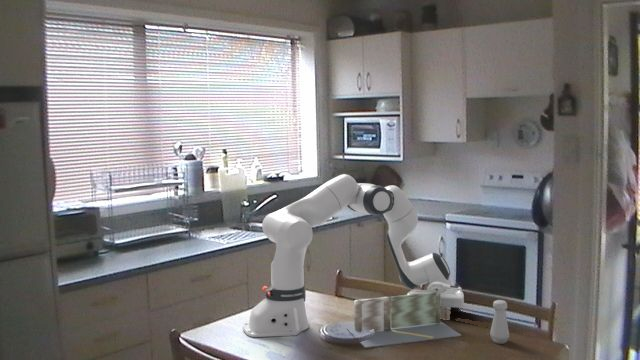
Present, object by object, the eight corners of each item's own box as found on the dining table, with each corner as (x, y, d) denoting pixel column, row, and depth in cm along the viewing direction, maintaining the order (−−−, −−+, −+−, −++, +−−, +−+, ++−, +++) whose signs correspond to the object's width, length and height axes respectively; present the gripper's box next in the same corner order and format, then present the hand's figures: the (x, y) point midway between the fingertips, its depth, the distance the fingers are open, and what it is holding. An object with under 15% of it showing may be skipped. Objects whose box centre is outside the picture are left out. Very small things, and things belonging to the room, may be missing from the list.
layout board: (365, 348, 189) (365, 346, 189) (346, 329, 206) (346, 327, 206) (461, 336, 198) (461, 334, 198) (435, 319, 215) (435, 317, 215)
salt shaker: (499, 345, 189) (499, 304, 188) (486, 340, 194) (486, 300, 193) (513, 342, 192) (513, 302, 191) (499, 336, 197) (500, 297, 196)
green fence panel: (392, 328, 203) (392, 297, 202) (390, 326, 205) (390, 296, 204) (441, 322, 208) (441, 292, 207) (438, 321, 210) (438, 291, 209)
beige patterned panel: (356, 335, 199) (355, 301, 198) (353, 332, 202) (353, 299, 201) (391, 330, 203) (391, 298, 202) (388, 328, 205) (388, 296, 204)
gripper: (409, 283, 229) (402, 293, 216) (465, 287, 222) (461, 298, 209) (409, 300, 229) (402, 311, 216) (465, 304, 223) (461, 316, 210)
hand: (432, 305), depth 213 cm, fingers closed
